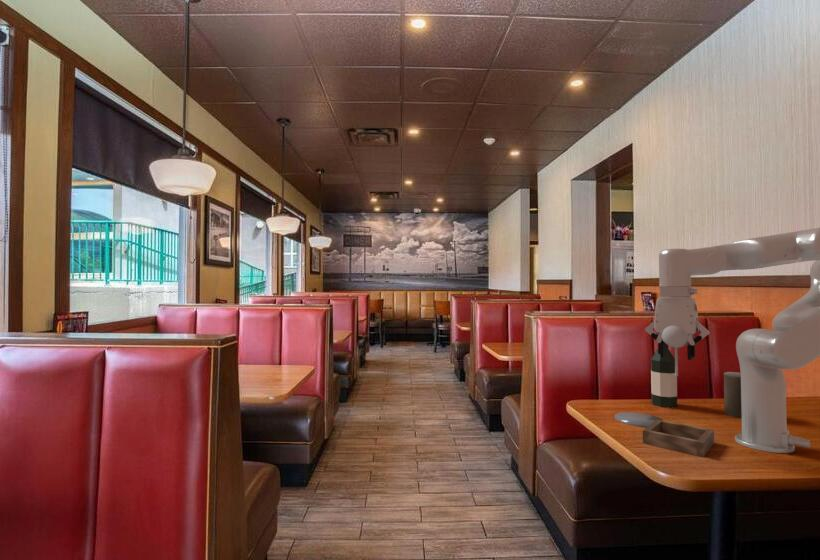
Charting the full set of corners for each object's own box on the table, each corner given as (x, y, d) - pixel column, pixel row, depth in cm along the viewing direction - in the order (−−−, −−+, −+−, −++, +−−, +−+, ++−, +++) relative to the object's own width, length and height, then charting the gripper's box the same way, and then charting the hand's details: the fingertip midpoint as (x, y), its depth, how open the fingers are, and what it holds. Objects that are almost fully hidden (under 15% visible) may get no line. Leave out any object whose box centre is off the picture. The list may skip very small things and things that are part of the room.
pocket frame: (714, 442, 118) (713, 430, 118) (703, 457, 108) (703, 443, 108) (657, 431, 128) (657, 419, 128) (642, 443, 118) (642, 430, 118)
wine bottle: (682, 409, 151) (681, 324, 152) (659, 409, 151) (657, 324, 152) (669, 402, 160) (667, 322, 160) (646, 402, 160) (645, 322, 161)
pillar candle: (746, 420, 138) (745, 374, 138) (717, 412, 147) (716, 368, 148) (768, 418, 140) (767, 372, 141) (738, 410, 150) (737, 367, 150)
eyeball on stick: (683, 373, 122) (682, 320, 122) (697, 378, 115) (696, 322, 115) (656, 373, 123) (656, 320, 123) (669, 378, 115) (668, 322, 116)
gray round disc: (669, 420, 138) (669, 418, 138) (657, 431, 128) (657, 428, 128) (623, 412, 147) (623, 409, 148) (608, 421, 137) (608, 418, 137)
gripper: (715, 293, 116) (716, 359, 116) (644, 293, 128) (646, 353, 127) (710, 293, 111) (711, 363, 110) (637, 293, 122) (638, 356, 122)
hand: (676, 357), depth 119 cm, fingers closed on eyeball on stick, 5 cm apart
